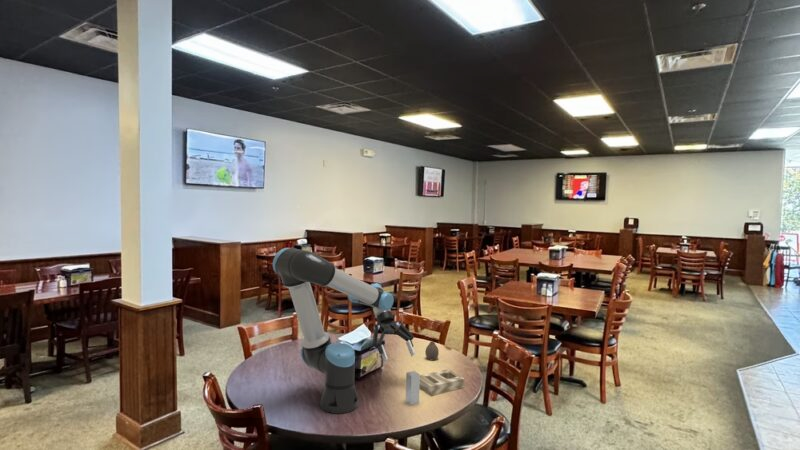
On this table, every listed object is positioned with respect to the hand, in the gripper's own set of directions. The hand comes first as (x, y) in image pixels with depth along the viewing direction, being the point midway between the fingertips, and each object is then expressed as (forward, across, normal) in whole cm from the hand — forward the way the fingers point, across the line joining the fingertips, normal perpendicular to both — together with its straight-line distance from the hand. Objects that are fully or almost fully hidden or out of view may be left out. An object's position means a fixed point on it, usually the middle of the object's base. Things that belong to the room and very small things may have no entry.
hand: (399, 357), depth 183 cm
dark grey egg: (-7, +35, +29) cm, 46 cm away
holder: (+13, +19, +8) cm, 24 cm away
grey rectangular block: (+18, 0, +3) cm, 18 cm away
